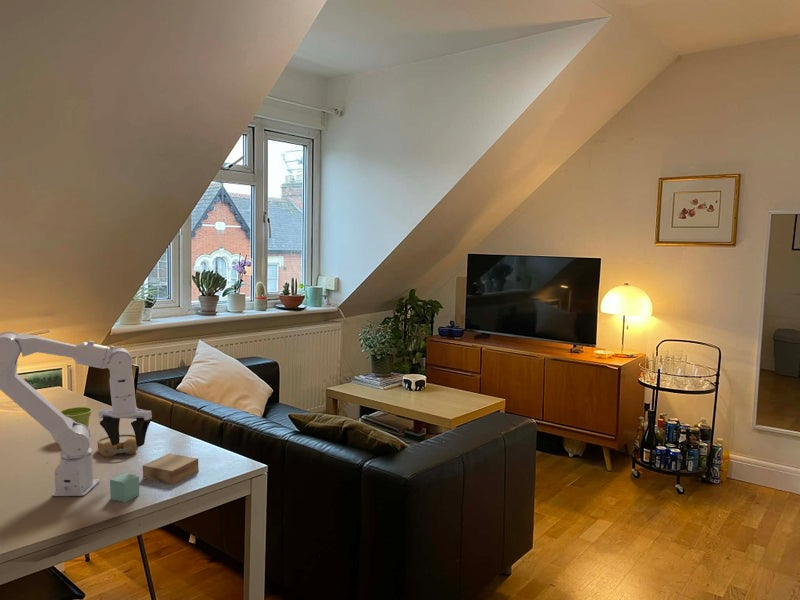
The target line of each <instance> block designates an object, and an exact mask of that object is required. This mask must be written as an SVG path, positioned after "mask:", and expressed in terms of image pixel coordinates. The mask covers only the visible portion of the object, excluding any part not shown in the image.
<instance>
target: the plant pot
mask: <svg viewBox="0 0 800 600" xmlns="http://www.w3.org/2000/svg"><path fill="white" fill-rule="evenodd" d="M59 411H60V412H61V413H62V414H63V415H65V416H66V417H69V418H71V419H72V420H74V421H75V422H77V423H80V424H83V425H85V426H86V427H88V428H89V422H90V416H91V413H92V412H93V408H91V407H87V406H77V407H68V408H65V409H62V410H59Z"/></svg>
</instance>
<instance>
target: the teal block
mask: <svg viewBox="0 0 800 600" xmlns="http://www.w3.org/2000/svg"><path fill="white" fill-rule="evenodd" d="M109 485H110V486H109V489H110V491H109V493H110V500H113V499H114V501H117V500H118V502H121V501H122V503H126V502H128V501H130V499H131V500H132V499H134V497H135V498H136V496H137V497H139V496H140V476H139V475H136V474H130V473H127V472H124V473H122V474H120V475H117V476H116V477H112V478H111V479H109ZM138 495H139V496H138Z"/></svg>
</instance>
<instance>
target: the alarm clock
mask: <svg viewBox="0 0 800 600" xmlns="http://www.w3.org/2000/svg"><path fill="white" fill-rule="evenodd" d="M119 438H120V440H119V443H118V444H116V445H114V446H113V445H112V444H111V441H110V439H109V437H108V436H105V437H102V438H100V439H98V440H97V441H96V443H97V453H98V454H101V456H103V457H104V458H107V457H109V458H113V457H115V456H116V455H118V454H126V455H128V454H129V455H133V454H136V452H137V451H138V449H139V447H137V444H136V437H135V434H129V433H128V434H127V433H125V434H123V433H122V434H119Z"/></svg>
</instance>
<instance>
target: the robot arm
mask: <svg viewBox="0 0 800 600" xmlns="http://www.w3.org/2000/svg"><path fill="white" fill-rule="evenodd" d="M36 353H39V354H46V355H52V356H60V357H64V358H65V357H66V358H71V359H73V360H74V361H75V363H76V364H77V365H82V366H87V367H93V368H98V369H103V370H105V369H108V370H109V380H108V381H109V389H110V401H111V408H102V409H100V410H98V418H99V419H101V420H100V421H99V425H100V426H101V428H103V429H104V431H105V433H106V434H107V437H109V439H110V441H111V444H112V445H113V446H114V445H116V444H118V443H119V440H120V438H119V435H120V421H121V419H129V420H130V419H131V420H133V419H134V421H131V422H130V425H131V427H132V429H133V433H134V435H135V437H136V444H137V447H138V448H140V447H142V446H144V445H145V441H146V436H147V432H148V430H149V429H148V428H149V425H150V424H151V422H152V418H153V415H152V414H153V413H152V410H147V409H142V408H138V406H137V401H136V391H135V390H136V389H135V381H134V380H135V379H134V375H133V369H132V367H133V364H134V363H133V362H134V361H133V359H132V355H131V352H130V351H129V350H127V349H126V348H124V347H121V346H114V345H110V346H106V345H102V344H99V343H98V344H97V343H95V340H88V342H87V341H82V342H80V343H78V344H73V343H72V344H71V343H68V342H65V341H64V342H63V341H61V340H60V341H59V340H56V339H50V338H47V337H42V336H40V335H39V336H38V335H34V334H28V333H21V332H20V333H16V332H14V331H4V332H1V333H0V391H1V392H3V393H4V394H5V395H6V396H7V397H8V398H9V399H10V400H12V401H13V402H14V403H15V404H16V405H17V406H19V408H21V409H22V410H23V411H25V412H26V413H27V414H28V415H29V416H30V417H31V418H33V419H34V420H35V421H36V422H38V424H40V425H41V426H42V427H43V428H44V429H46V430H47V432H49V433H50V434H51V437H52V439H53V441H55V442H56V443H57V444H58V445H59V447H60V449H61V451H60V453H59V456H60V461H59V464H58V465H57V466H56V468H55V470H54V485H55V486H54V488H55V491H54V492H52V493H51V497H76V496H77V497H78V496H79V497H81V496H85V495H87V494H88V493H89V492H90V491H92V489H93V488H94V487H95V486H96V485H97V484H98V483H100V482H101V479H98V478H97V479H96V478H95V479H94V463H93V462H94V461H93V460H94V458H93V449H92V448H91V447H90V437H91V432H90V429H89V426H88V427H86V426H85V425H83V424H80V423H77V422H75V421H74V420H72V419H71V418H69V417H66V416H65V415H63V414H62V413H61V412H60V411H61V410H59V409H58V408H57V407H56V406H54V405H53V404H52V403H51V402H50V401H49V400H48V399H47V398H45V397H44V396H43V395H42V394H41V393H40V392H38V391H37V389H35V388H34V387H33V386H32V385H31V384H30V383H28V382H27V381H26V380H25V379H24V378H23V377H22V376H20V374H18V373H17V371H18V362H19V361H18V359H19V357H20V355H21V357H23V358H24V357H27V356H29V355H33V354H36ZM135 419H136V420H135Z"/></svg>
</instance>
